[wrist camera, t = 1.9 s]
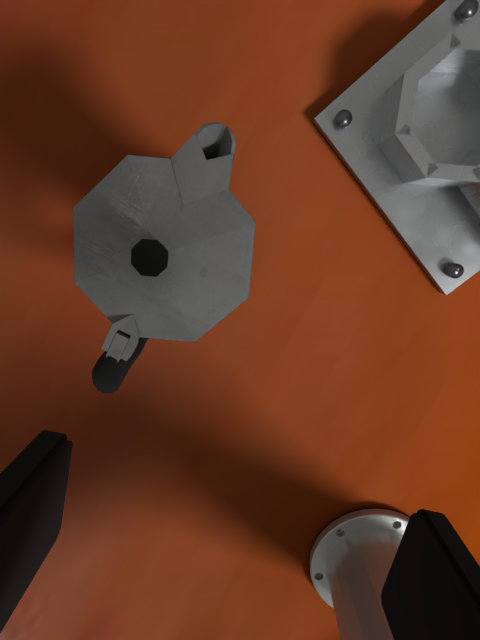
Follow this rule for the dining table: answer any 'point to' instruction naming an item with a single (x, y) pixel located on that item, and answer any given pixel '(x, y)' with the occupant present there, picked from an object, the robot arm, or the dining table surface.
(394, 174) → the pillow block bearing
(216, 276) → the coffeepot
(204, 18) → the dining table surface
